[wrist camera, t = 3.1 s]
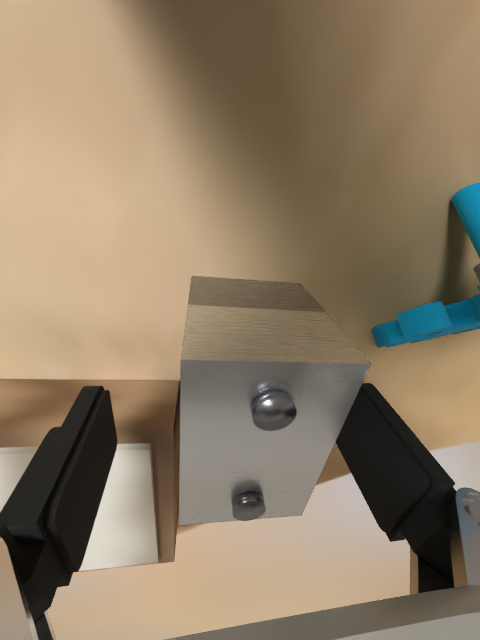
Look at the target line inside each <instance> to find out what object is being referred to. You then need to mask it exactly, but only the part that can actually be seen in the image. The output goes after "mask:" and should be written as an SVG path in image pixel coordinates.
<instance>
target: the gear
mask: <svg viewBox="0 0 480 640" xmlns="http://www.w3.org/2000/svg"><path fill="white" fill-rule="evenodd" d="M451 201H452V203H453V205H454V207H455V209H456V211H457V213H458V215H459V217H460V219H461V221H462V223H463V225H464V227H465V229H466V231H467V233H468V235H469V237H470V239H471V241H472V243H473V245H474V248H475V250H476V252H477V254H478V256H479V258H480V183H475V184H472V185H470V186H467V187H465V188H464V189H462V190H460V191H459V192H457V193H456V194H455V195H454V196H453V197H452V199H451ZM473 269H474V271H475V273H476V276H477V278H478V280H479V282H480V264H478V265H477V266H475V267H474V268H473ZM478 289H479V292H480V285H478ZM396 317H397V319H398V320H396V321H391V322H387V323H383V324H381V325H378V326H376V327H374V328H372V329H371V330H372V333H373V336H374V339H375V342H376V345H377V347H382V346H386V347H391V346H396V345H400V344H404V343H408V342H411V343H413V342H419V341H424V340H428V339H432V338H436V337H440V336H444V335H448V334H457V333H462V332H467V331H471V330H476V329H480V293H479V294H477V295H475V296H473V297H471V298H469V299H466V300H464V301H461V302H457V303H454V304H450V305H446V306H443V303H442V302H441V301H440V302H433V303H428V304H425V305H422V306H419V307H416V308H413V309H410V310H408V311H405V312H402V313H400V314H397V315H396Z"/></svg>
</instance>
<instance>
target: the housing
mask: <svg viewBox="0 0 480 640" xmlns="http://www.w3.org/2000/svg"><path fill="white" fill-rule="evenodd" d="M370 366H371V363H370V362H369V361H368V360H367V359H366V357H365V356H364V355H363V354H362V353H361V352H360V351H359V350H358V348H357V347H356V346H355V345H354V344H353V343H352V342H351V340H350V339H349V338H348V337H347V336H346V335H345V334H344V333H343V331H342V330H341V329H340V328H339V327H338V326H337V325H336V324H335V322H334V321H333V320H332V319H331V318H330V317H329V316H328V315H327V313H326V312H325V311H324V310H323V309H322V308H321V307H320V306H319V304H318V303H317V302H316V301H315V300H314V299H313V298H312V296H311V295H310V294H309V293H308V292H307V291H306V290H305V289H304V287H303V286H302V285H301V284H298V283H284V282H270V281H257V280H243V279H229V278H216V277H202V276H192V277H191V285H190V293H189V300H188V308H187V316H186V324H185V331H184V339H183V347H182V354H181V383H180V472H179V525H189V524H201V523H214V522H225V521H238V520H242V521H248V520H253V519H262V518H274V517H286V516H297V515H302V513H303V511H304V509H305V507H306V505H307V502H308V500H309V498H310V495H311V494H312V491H313V489H314V487H315V485H316V483H317V481H318V478H319V476H320V474H321V472H322V470H323V468H324V465H325V463H326V461H327V459H328V457H329V455H330V452H331V450H332V448H333V446H334V444H335V442H336V439H337V437H338V435H339V433H340V431H341V429H342V426H343V424H344V422H345V420H346V418H347V415H348V413H349V411H350V409H351V407H352V405H353V402H354V400H355V398H356V396H357V394H358V392H359V389H360V387H361V385H362V383H363V381H364V379H365V376H366V374H367V372H368V370H369V368H370Z"/></svg>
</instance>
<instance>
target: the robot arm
mask: <svg viewBox="0 0 480 640" xmlns="http://www.w3.org/2000/svg"><path fill="white" fill-rule="evenodd" d="M336 444H337V446H338V448H339V450H340V452H341V453H342V455H343V457H344V459H345V461H346V463H347V465H348V467H349V469H350V471H351V473H352V475H353V476H354V479H355V481H356V483H357V485H358V486H359V488H360V490H361V492H362V494H363V496H364V498H365V500H366V502H367V504H368V506H369V508H370V510H371V512H372V514H373V516H374V518H375V520H376V522H377V524H378V525H379V527H380V528H381V530H382V531H384V532H385V533H386V534H387V536H388V538H389V540H390V542H391V541H398V540H404V539H405V538H406V540H407V541H408V543H409V545H410V595H406V596H401V597H395V598H389V599H384V600H378V601H372V602H367V603H361V604H355V605H350V606H344V607H339V608H333V609H328V610H322V611H317V612H311V613H305V614H300V615H295V616H289V617H284V618H278V619H273V620H267V621H262V622H257V623H251V624H245V625H241V626H235V627H230V628H224V629H219V630H213V631H208V632H203V633H197V634H192V635H187V636H182V637H176V638H171V639H165V640H480V492H478V491H476V490H474V489H471V488H460V489H458V490H457V491H456V490H455V489H454V488H453V486H454V484H455V482H454V481H453V480H452V479H451V478H450V476H449V475H448V474H447V473H446V472H445V470H444V469H443V468H442V467H441V466H440V464H439V463H438V462H437V461H436V460H435V458H434V457H433V456H432V455H431V454H430V452H429V451H428V450H427V449H426V448H425V446H424V445H423V444H422V443H421V442H420V440H419V439H418V438H417V437H416V436H415V434H414V433H413V432H412V431H411V430H410V428H409V427H408V426H407V425H406V424H405V422H404V421H403V420H402V419H401V418H400V416H399V415H398V414H397V413H396V412H395V410H394V409H393V408H392V407H391V406H390V404H389V403H388V402H387V401H386V400H385V398H384V397H383V396H382V395H381V394H380V392H379V391H378V390H377V389H376V388H375V386H374V385H373V384H371V383H362V385H361V387H360V389H359V392H358V394H357V396H356V398H355V400H354V402H353V405H352V407H351V409H350V411H349V413H348V415H347V418H346V420H345V422H344V424H343V426H342V429H341V431H340V433H339V435H338V437H337V439H336ZM116 449H117V434H116V428H115V422H114V416H113V410H112V404H111V398H110V392H109V390H104V387H103V386H84V387H83V388H82V389H81V391H80V393H79V394H78V396H77V398H76V400H75V402H74V403H73V405H72V407H71V409H70V411H69V413H68V414H67V416H66V418H65V420H64V422H63V424H62V425H61V427H53V428H52V429H50V430H49V432H48V433H47V434H46V436H45V438H44V439H43V441H42V443H41V444H40V446H39V448H38V449H37V451H36V453H35V455H34V456H33V458H32V460H31V461H30V463H29V465H28V466H27V468H26V470H25V472H24V473H23V475H22V477H21V478H20V480H19V482H18V483H17V485H16V487H15V489H14V490H13V492H12V494H11V495H10V497H9V499H8V500H7V502H6V504H5V506H4V507H3V509H2V511H1V512H0V640H56V637H55V634H54V631H53V629H52V625H51V622H50V619H49V616H48V613H47V609H48V608H49V607H50V606H51V604H52V601H53V598H54V595H55V592H56V589H57V587H61V586H68V585H69V583H70V580H71V577H72V574H73V572H78V571H79V569H80V567H81V565H82V562H83V559H84V556H85V552H86V549H87V546H88V542H89V539H90V536H91V532H92V529H93V526H94V522H95V519H96V516H97V512H98V509H99V506H100V502H101V499H102V496H103V492H104V489H105V486H106V482H107V479H108V476H109V472H110V469H111V466H112V462H113V459H114V456H115V452H116Z"/></svg>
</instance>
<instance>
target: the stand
mask: <svg viewBox="0 0 480 640" xmlns="http://www.w3.org/2000/svg"><path fill="white" fill-rule="evenodd" d="M84 386H103V387H104V390H109V392H110V398H111V404H112V410H113V416H114V422H115V428H116V434H117V449H116V452H115V456H114V459H113V462H112V466H111V469H110V472H109V476H108V479H107V482H106V486H105V489H104V492H103V496H102V499H101V502H100V506H99V509H98V512H97V516H96V519H95V522H94V526H93V529H92V532H91V536H90V539H89V542H88V546H87V549H86V552H85V556H84V559H83V562H82V565H81V567H80V569H79V571H78V572H80V571H89V570H99V569H108V568H118V567H126V566H127V567H128V566H137V565H147V564H156V563H166V562H174V557H175V544H176V532H177V519H178V453H179V381H152V380H17V379H0V512H1V511H2V509H3V507H4V506H5V504H6V502H7V500H8V499H9V497H10V495H11V494H12V492H13V490H14V489H15V487H16V485H17V483H18V482H19V480H20V478H21V477H22V475H23V473H24V472H25V470H26V468H27V466H28V465H29V463H30V461H31V460H32V458H33V456H34V455H35V453H36V451H37V449H38V448H39V446H40V444H41V443H42V441H43V439H44V438H45V436H46V434H47V433H48V432H49V430H50V429H52V428H53V427H61V425H62V424H63V422H64V420H65V418H66V416H67V414H68V413H69V411H70V409H71V407H72V405H73V403H74V402H75V400H76V398H77V396H78V394H79V393H80V391H81V389H82V388H83V387H84Z"/></svg>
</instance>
